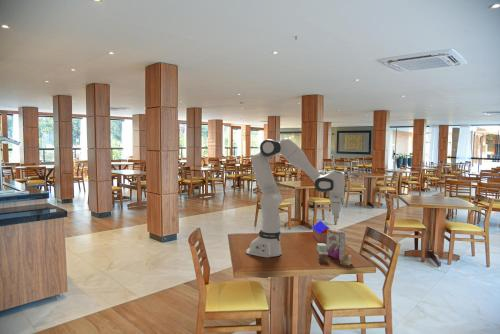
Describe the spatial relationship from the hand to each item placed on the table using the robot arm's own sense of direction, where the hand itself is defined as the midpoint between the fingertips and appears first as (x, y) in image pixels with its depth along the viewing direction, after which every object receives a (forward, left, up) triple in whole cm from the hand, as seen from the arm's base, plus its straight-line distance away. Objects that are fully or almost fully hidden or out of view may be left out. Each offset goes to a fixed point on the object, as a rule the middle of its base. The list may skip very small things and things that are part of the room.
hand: (336, 220), depth 209 cm
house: (-12, +39, -23) cm, 47 cm away
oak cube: (+7, -11, -23) cm, 26 cm away
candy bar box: (0, 0, -23) cm, 23 cm away
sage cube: (-9, +7, -23) cm, 26 cm away
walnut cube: (-6, -11, -23) cm, 26 cm away
